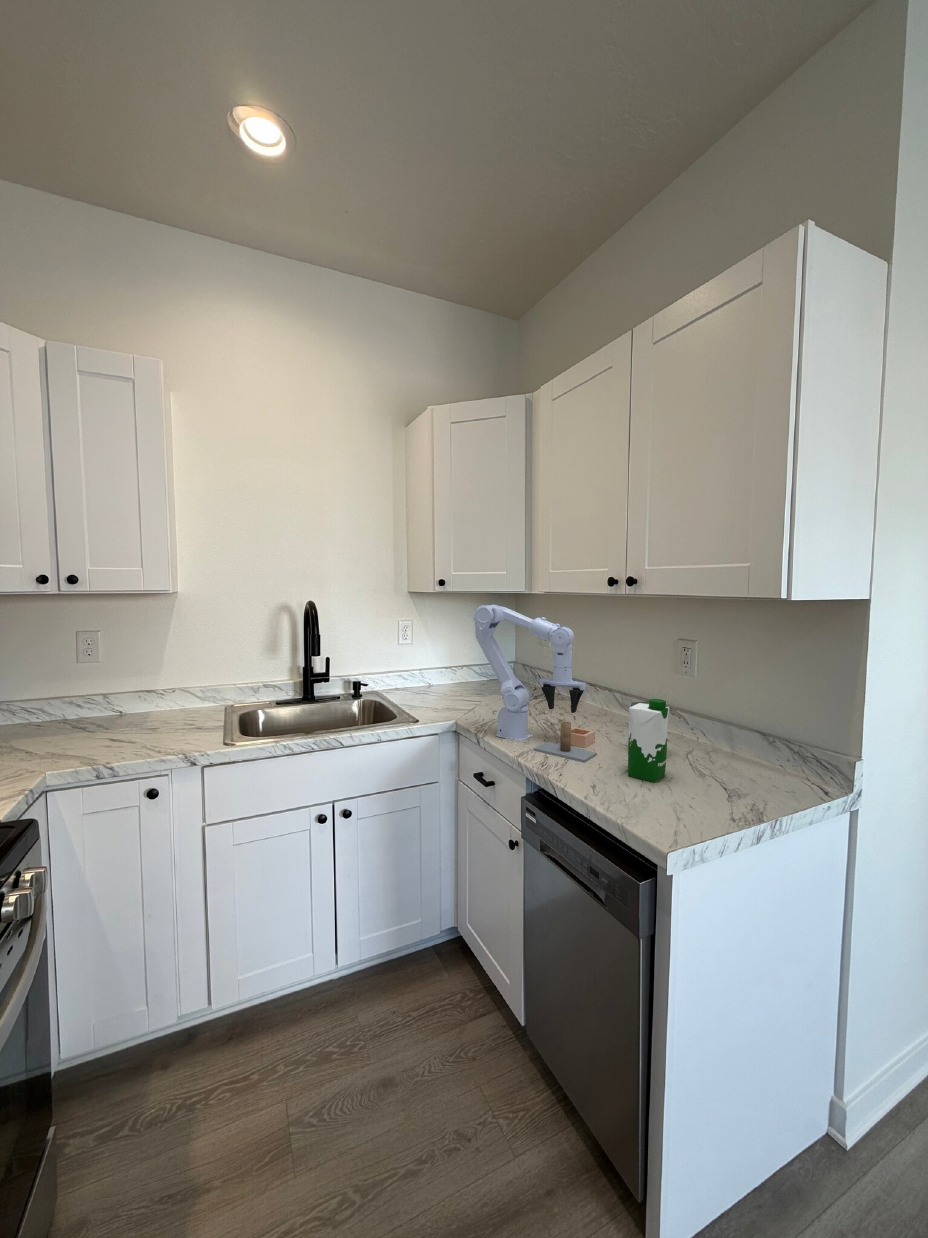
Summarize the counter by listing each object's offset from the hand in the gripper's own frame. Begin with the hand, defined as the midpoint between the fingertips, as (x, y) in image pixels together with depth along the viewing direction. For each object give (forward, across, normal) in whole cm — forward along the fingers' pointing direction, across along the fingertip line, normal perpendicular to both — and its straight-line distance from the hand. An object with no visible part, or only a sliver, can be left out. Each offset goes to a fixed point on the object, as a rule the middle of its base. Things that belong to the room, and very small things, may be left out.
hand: (562, 710), depth 159 cm
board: (+10, -5, +9) cm, 15 cm away
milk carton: (+11, -29, +10) cm, 33 cm away
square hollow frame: (+10, -4, -3) cm, 12 cm away
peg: (+9, -5, +8) cm, 14 cm away
